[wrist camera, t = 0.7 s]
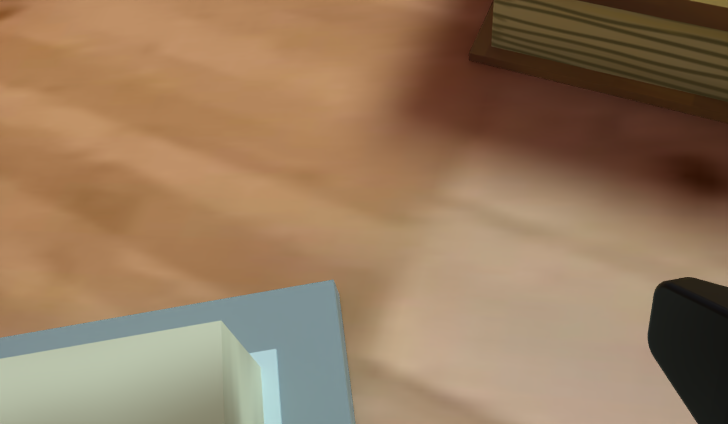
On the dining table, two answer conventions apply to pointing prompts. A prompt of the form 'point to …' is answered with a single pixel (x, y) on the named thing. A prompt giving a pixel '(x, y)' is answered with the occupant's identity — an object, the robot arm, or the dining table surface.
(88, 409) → the maple block
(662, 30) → the diary
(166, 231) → the dining table surface
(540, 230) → the dining table surface
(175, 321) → the build plate
